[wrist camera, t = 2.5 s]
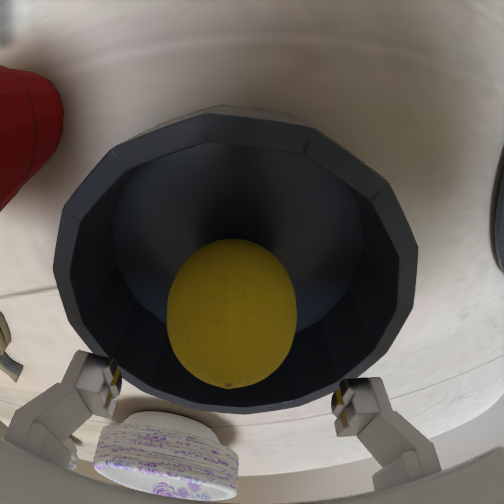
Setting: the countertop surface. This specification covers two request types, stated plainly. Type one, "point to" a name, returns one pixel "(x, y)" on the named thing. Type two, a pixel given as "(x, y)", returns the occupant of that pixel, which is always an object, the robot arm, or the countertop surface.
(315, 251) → the pot
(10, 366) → the toy food set
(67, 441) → the frog figurine
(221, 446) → the paper bowls
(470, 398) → the countertop surface
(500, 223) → the lid
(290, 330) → the lemon
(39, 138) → the plastic cup
